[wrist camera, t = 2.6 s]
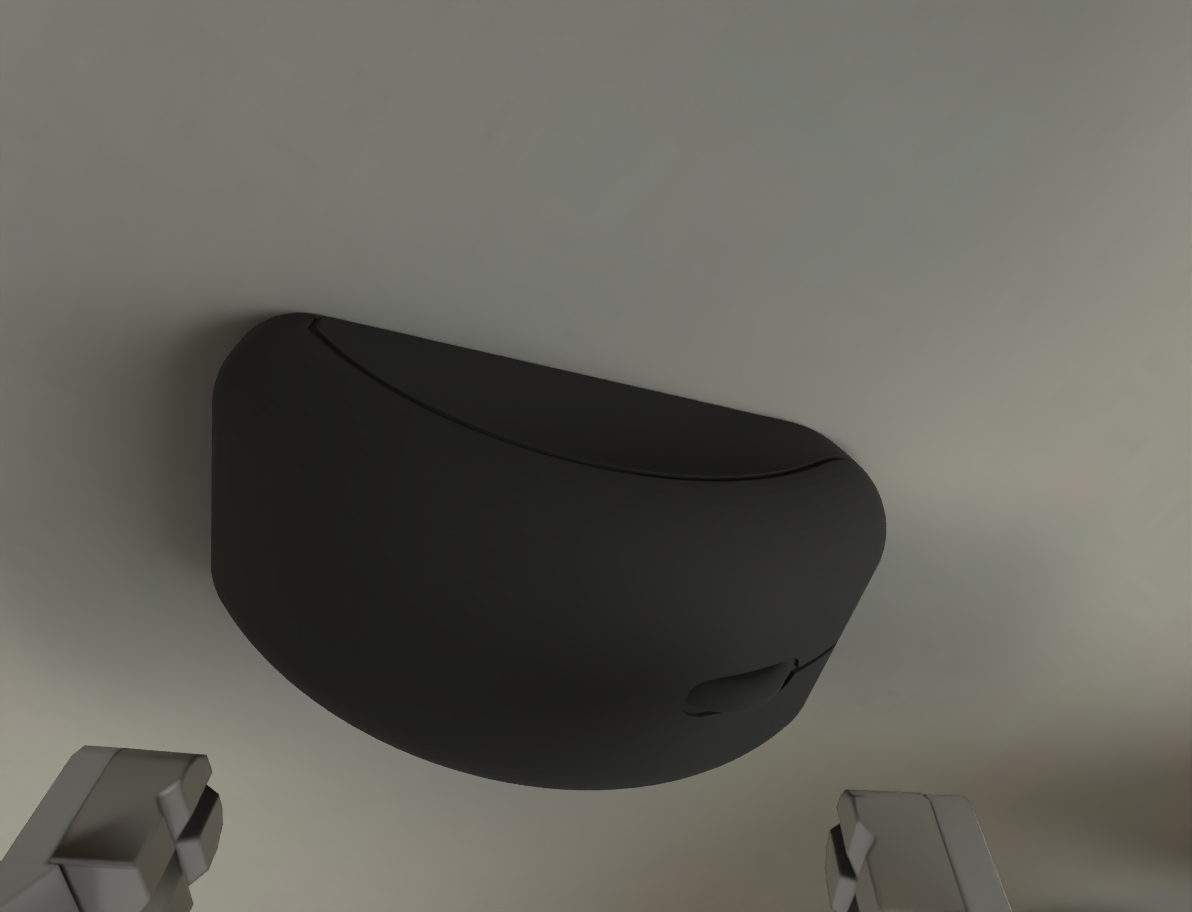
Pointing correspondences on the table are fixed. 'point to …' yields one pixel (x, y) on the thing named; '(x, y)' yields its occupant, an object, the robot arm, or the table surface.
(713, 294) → the table surface
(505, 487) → the computer mouse
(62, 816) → the robot arm
